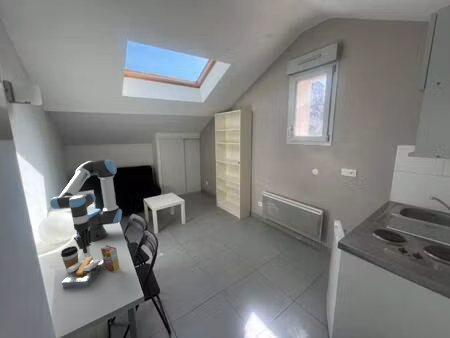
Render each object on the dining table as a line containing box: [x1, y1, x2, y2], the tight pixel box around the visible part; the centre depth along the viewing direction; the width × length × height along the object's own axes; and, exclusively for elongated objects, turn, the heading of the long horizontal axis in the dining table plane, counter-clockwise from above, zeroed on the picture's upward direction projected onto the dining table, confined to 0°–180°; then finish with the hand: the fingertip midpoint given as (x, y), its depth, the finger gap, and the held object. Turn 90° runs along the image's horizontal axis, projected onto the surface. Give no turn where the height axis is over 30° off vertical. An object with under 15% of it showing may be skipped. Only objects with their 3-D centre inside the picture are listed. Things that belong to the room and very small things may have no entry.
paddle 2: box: [84, 259, 102, 271], centre depth 118 cm, size 11×3×2 cm, turn 3°
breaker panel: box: [61, 259, 105, 289], centre depth 118 cm, size 18×14×5 cm
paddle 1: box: [68, 259, 85, 272], centre depth 117 cm, size 11×3×2 cm, turn 3°
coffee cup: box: [60, 245, 79, 274], centre depth 122 cm, size 8×8×15 cm
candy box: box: [100, 244, 120, 273], centre depth 122 cm, size 9×4×15 cm, turn 69°
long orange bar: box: [76, 256, 94, 275], centre depth 117 cm, size 11×3×2 cm, turn 3°
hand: (87, 256), depth 120 cm, fingers closed
